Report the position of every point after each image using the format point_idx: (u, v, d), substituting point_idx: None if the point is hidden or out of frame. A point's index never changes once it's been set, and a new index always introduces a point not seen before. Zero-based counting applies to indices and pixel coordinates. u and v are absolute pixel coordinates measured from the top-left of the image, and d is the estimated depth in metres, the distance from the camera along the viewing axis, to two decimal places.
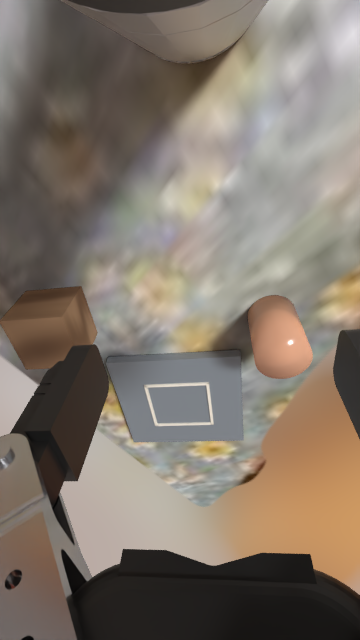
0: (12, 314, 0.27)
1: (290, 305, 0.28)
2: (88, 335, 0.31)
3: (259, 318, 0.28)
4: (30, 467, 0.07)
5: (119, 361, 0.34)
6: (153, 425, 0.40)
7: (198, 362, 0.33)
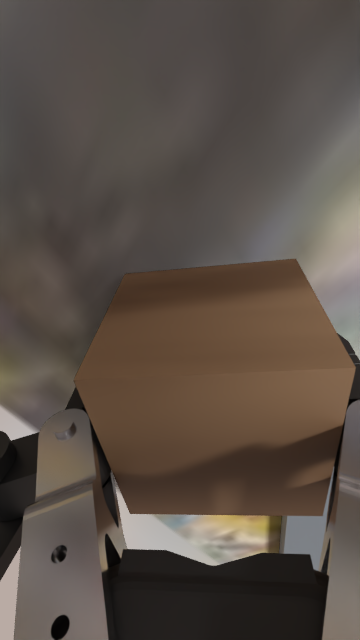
0: (117, 350, 0.07)
1: None
2: None
3: None
4: (88, 445, 0.07)
5: None
6: None
7: None
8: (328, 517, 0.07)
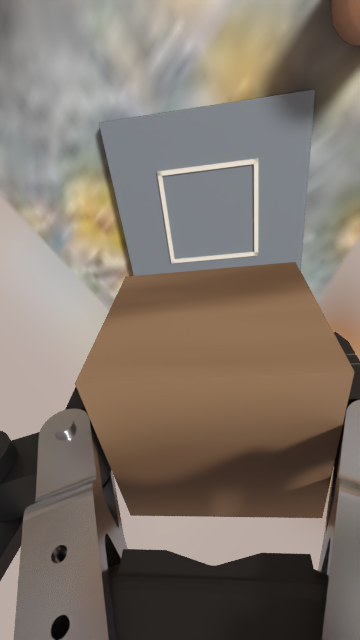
0: (118, 353, 0.07)
1: None
2: None
3: None
4: (88, 445, 0.07)
5: (120, 120, 0.22)
6: (168, 263, 0.27)
7: (245, 110, 0.21)
8: (328, 517, 0.07)
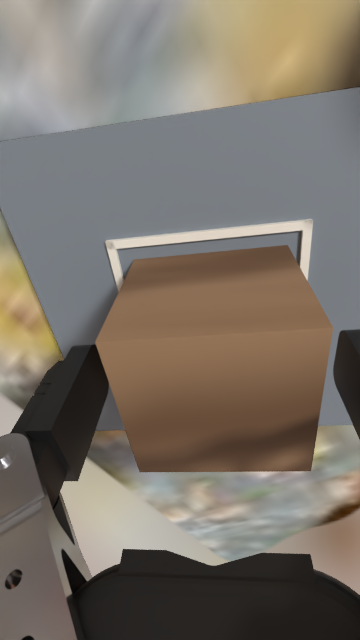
0: (131, 319, 0.09)
1: None
2: None
3: None
4: (30, 467, 0.07)
5: None
6: None
7: (291, 120, 0.09)
8: None
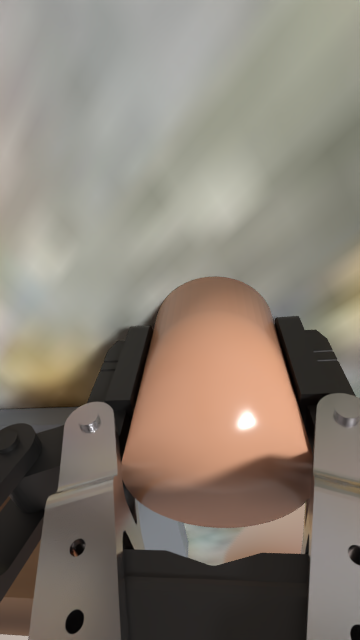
0: None
1: (254, 302, 0.10)
2: None
3: (160, 338, 0.09)
4: (111, 440, 0.07)
5: None
6: None
7: None
8: (306, 512, 0.07)
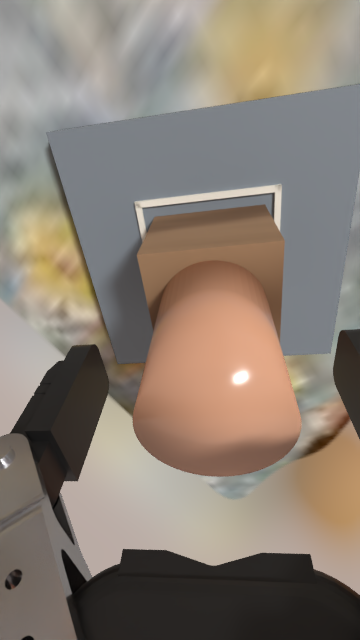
0: (158, 244, 0.13)
1: (250, 282, 0.12)
2: None
3: (166, 312, 0.11)
4: (30, 467, 0.07)
5: (77, 128, 0.15)
6: None
7: (264, 114, 0.14)
8: None
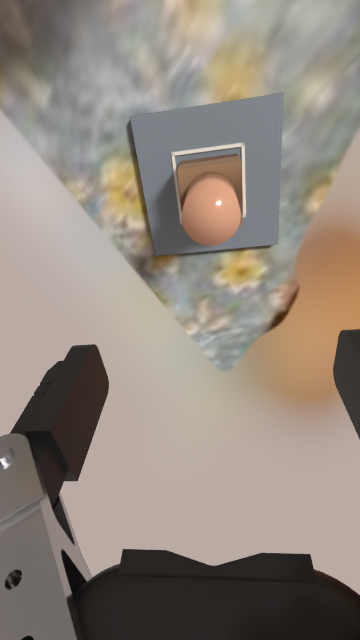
0: (185, 166, 0.29)
1: (226, 178, 0.27)
2: None
3: (191, 186, 0.26)
4: (30, 467, 0.07)
5: None
6: (178, 224, 0.36)
7: (234, 107, 0.30)
8: None
